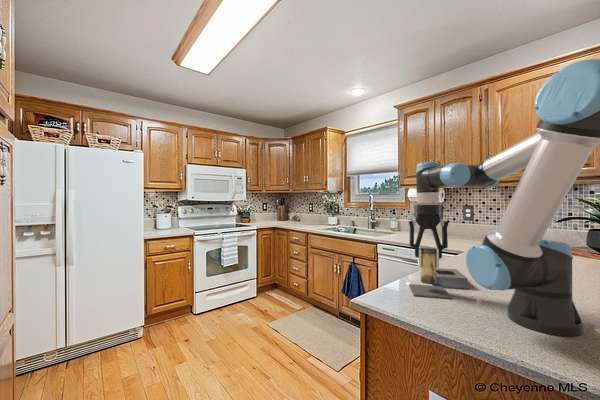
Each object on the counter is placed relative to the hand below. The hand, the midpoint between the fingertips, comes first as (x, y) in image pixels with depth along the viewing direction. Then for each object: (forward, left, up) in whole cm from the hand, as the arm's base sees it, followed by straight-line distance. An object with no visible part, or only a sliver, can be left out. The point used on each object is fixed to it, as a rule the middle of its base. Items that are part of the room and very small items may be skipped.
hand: (428, 266), depth 97 cm
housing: (+14, -9, -9) cm, 19 cm away
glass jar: (0, 0, -6) cm, 6 cm away
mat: (0, 0, -9) cm, 9 cm away
